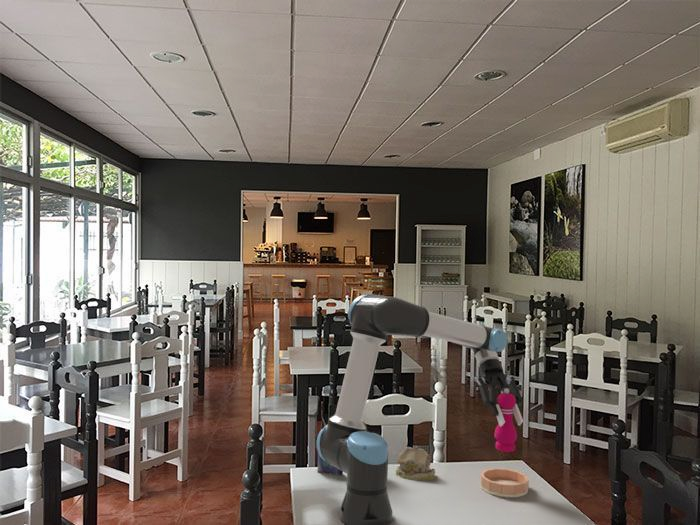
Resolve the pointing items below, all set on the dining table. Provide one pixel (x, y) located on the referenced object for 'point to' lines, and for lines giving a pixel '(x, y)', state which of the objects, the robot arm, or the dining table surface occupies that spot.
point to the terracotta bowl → (504, 482)
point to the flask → (327, 467)
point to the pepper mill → (506, 423)
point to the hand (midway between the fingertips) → (511, 423)
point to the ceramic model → (415, 464)
